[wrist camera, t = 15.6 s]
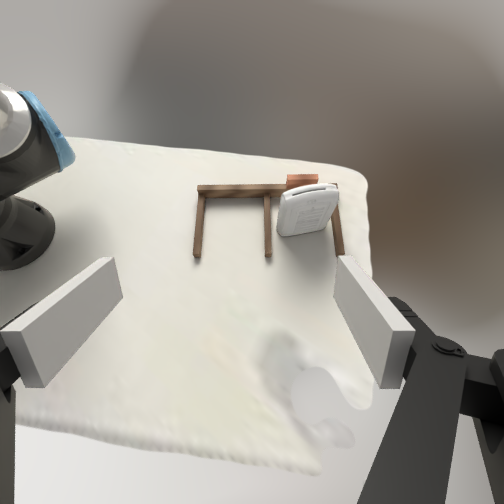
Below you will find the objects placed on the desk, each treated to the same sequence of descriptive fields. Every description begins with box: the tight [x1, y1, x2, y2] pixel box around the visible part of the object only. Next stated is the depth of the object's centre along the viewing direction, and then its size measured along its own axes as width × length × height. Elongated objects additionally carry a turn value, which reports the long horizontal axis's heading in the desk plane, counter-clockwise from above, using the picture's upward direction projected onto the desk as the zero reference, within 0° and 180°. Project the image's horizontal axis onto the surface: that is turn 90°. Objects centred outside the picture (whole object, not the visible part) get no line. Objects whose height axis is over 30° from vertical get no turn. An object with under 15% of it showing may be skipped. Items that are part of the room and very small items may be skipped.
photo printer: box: [276, 184, 339, 236], centre depth 49 cm, size 10×4×12 cm, turn 101°
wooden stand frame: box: [193, 174, 345, 257], centre depth 52 cm, size 29×15×6 cm, turn 90°
